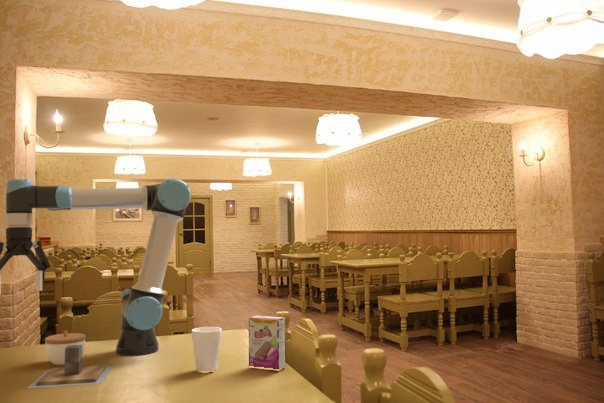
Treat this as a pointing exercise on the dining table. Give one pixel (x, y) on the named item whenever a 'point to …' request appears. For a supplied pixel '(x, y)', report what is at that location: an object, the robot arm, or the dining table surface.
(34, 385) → the mat
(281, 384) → the dining table surface
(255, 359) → the candy bar box
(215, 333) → the foam cup
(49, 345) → the lidded bowl
